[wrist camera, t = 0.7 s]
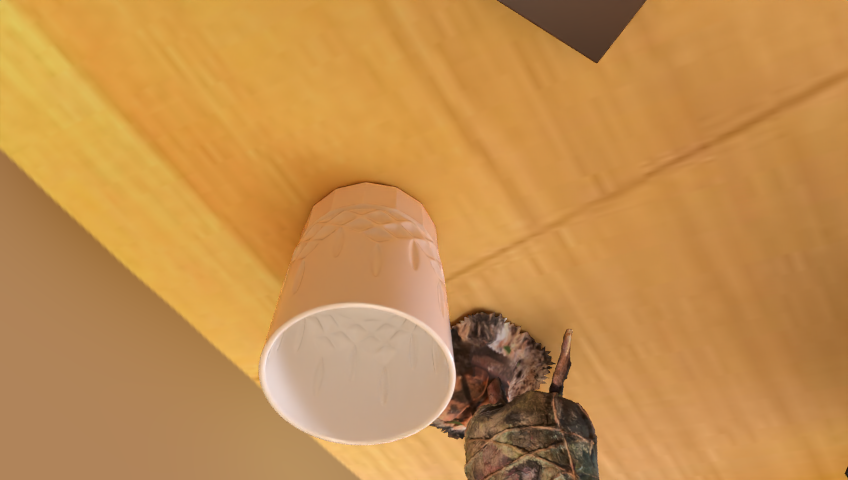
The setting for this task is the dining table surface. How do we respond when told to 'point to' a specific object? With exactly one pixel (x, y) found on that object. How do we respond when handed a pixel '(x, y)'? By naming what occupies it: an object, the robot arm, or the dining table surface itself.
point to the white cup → (362, 322)
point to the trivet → (579, 21)
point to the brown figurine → (515, 407)
